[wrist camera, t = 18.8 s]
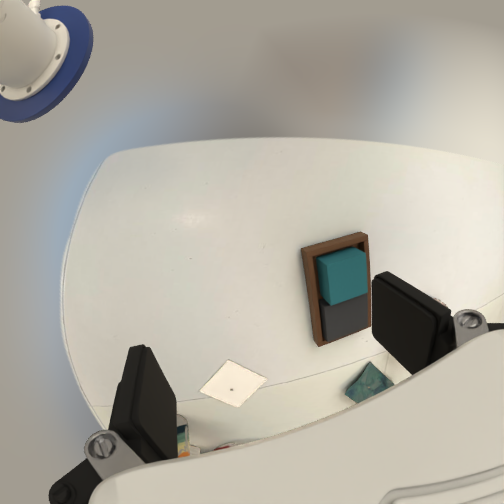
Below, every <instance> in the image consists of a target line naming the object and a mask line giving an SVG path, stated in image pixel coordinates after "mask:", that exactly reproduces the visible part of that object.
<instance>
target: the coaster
mask: <svg viewBox="0 0 504 504" xmlns="http://www.w3.org/2000/svg"><path fill="white" fill-rule="evenodd" d="M266 380H267V378H264V377H262V376H260V375H258V374H256V373H254V372H252V371H250V370H248V369H246V368H244V367H242V366H240V365H238V364H236V363H234V362H232V361H230V360H228V361H227V362H226V363H225V364H224V365H223V366H222V367H221V368H220V370H219V371H218V372H217V373H216V374H215V375H214V376H213V377H212V378H211V379H210V380H209V381H208V382H207V384H206V385H205V386H204V387H203V388H202V389H201V390H200V392H202V393H204V394H206V395H209V396H211V397H213V398H216V399H218V400H220V401H223V402H225V403H228V404H230V405H233V406H235V407H239V406H240V405H241V404H242V403H243V402H245V401H246V400H247V399H248V398H249V397H250V396H251V395H252V394H253V393H254V392H255V391H256V390H257V389H258V388H259V387H260V386H261V385H262V384H263V383H264V382H265V381H266Z"/></svg>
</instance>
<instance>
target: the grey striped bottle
mask: <svg viewBox="0 0 504 504" xmlns="http://www.w3.org/2000/svg"><path fill="white" fill-rule="evenodd" d="M177 443H178V458H180V457H186V456H190V447H189V432H188V423H187V421H186V419H185V418H184V417H182V416H180V415H178V414H177Z"/></svg>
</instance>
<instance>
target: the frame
mask: <svg viewBox="0 0 504 504" xmlns="http://www.w3.org/2000/svg"><path fill="white" fill-rule="evenodd" d="M352 246H353V247H355V248H357V249H359V250H361V251H363V252H364V253H366V264H367V284H368V292H367V296H368V327H371V279H370V259H369V244H368V235H367V234H365V233H362V232H358V233H354V234H351V235H347V236H344V237H340V238H336V239H333V240H329V241H326V242H322V243H318V244H315V245H311V246H308V247H304V248H301V252H302V259H303V265H304V272H305V278H306V285H307V292H308V299H309V306H310V314H311V322H312V329H313V338H314V341H315V343H316V344H317V345H318V347H320V346H323V345H325V344H328V343H331V342H333V341H336V340H339V339H341V338H344V337H346V336H349V335H351V334H354V333H356V332H359V331H361V330H364V329H366V328H368V327H365V328H363V329H361V330H358V331H356V332H353V333H351V334H348V335H346V336H343V337H341V338H338V339H335V340H333V341H330V342H327V341H326V340H325V338H324V337H323V336H322V329H321V320H320V311H319V302H318V300H319V299H322V298H323V297H322V296H321V295H320V287H319V279H318V271H317V263H316V257H318V256H321V255H325V254H328V253H332V252H335V251H338V250H342V249H345V248H349V247H352Z"/></svg>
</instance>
